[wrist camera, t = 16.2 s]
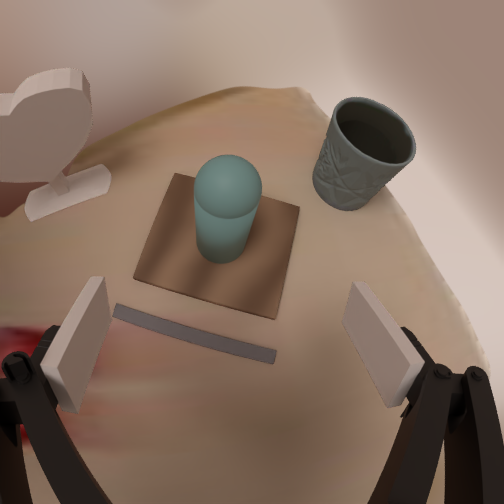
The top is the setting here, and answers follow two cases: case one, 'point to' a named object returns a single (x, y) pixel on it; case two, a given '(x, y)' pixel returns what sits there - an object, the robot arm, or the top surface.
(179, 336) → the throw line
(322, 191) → the grey textured cup
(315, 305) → the top surface
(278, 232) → the board
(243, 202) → the teal domed cylinder
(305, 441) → the top surface
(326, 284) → the top surface
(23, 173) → the heart sculpture
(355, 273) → the top surface
